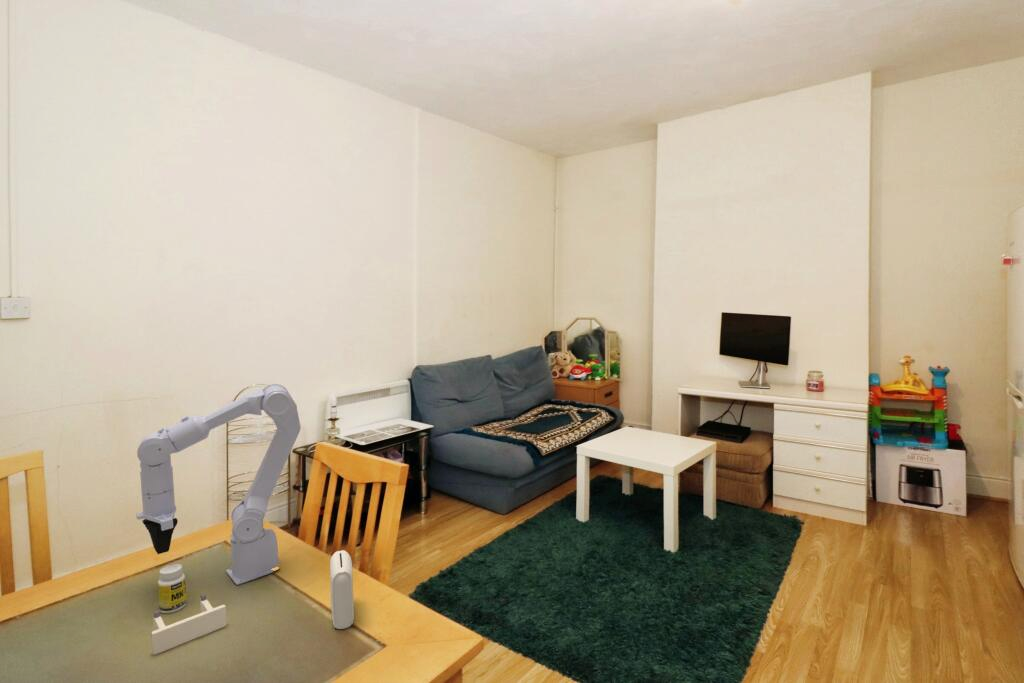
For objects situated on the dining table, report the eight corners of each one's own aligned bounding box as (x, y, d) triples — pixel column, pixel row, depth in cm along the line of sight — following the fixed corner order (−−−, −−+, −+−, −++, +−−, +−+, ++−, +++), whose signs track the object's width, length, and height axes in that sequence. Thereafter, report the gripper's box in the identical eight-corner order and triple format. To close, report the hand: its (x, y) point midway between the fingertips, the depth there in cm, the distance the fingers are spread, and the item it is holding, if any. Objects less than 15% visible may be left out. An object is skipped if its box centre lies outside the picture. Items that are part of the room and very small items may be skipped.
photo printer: (330, 602, 111) (328, 546, 110) (352, 598, 113) (350, 543, 112) (332, 632, 102) (329, 571, 101) (355, 627, 103) (353, 567, 102)
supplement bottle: (173, 615, 107) (170, 575, 106) (153, 612, 108) (151, 573, 107) (192, 601, 112) (189, 563, 111) (173, 599, 113) (170, 561, 112)
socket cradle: (214, 608, 109) (213, 589, 109) (226, 625, 104) (225, 606, 103) (145, 634, 101) (143, 614, 101) (154, 655, 95) (152, 634, 95)
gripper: (128, 485, 115) (133, 545, 117) (142, 505, 105) (146, 570, 106) (166, 477, 120) (170, 535, 122) (183, 495, 110) (187, 558, 111)
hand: (162, 550), depth 114 cm, fingers closed
